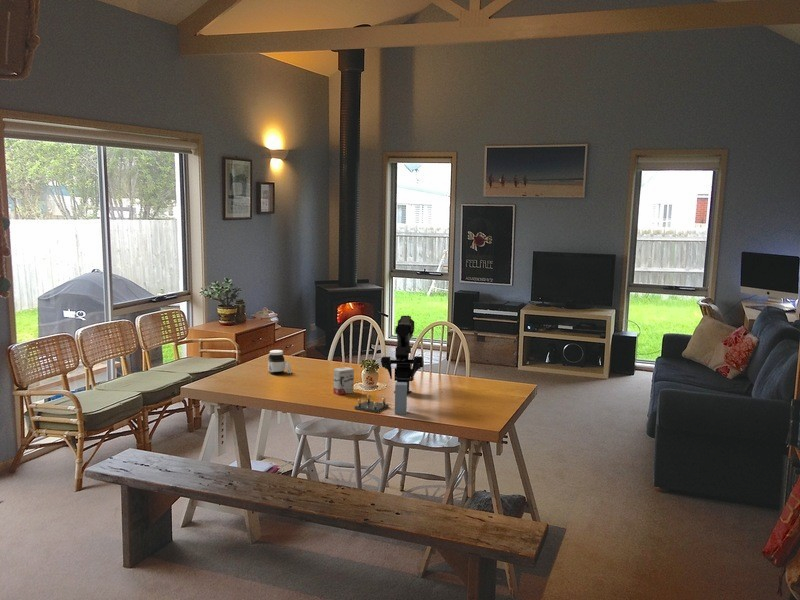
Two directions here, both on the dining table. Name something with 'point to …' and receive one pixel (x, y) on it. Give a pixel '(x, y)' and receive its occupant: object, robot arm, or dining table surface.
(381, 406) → the base plate
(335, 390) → the ink box
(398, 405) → the post
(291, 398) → the dining table surface
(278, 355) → the spread jar
